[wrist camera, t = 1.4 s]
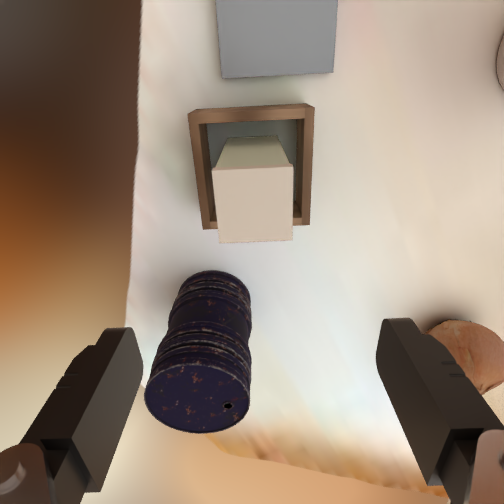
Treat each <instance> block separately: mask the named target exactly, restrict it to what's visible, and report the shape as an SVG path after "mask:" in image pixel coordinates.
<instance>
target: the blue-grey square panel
mask: <svg viewBox="0 0 504 504" xmlns="http://www.w3.org/2000/svg"><path fill="white" fill-rule="evenodd" d="M337 7H338V0H216V12H217V24H218V37H219V49H220V61H221V73H222V78H241V77H260V76H278V75H297V74H315V73H332V72H333V68H334V53H335V37H336V22H337Z"/></svg>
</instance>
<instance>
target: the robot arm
mask: <svg viewBox="0 0 504 504" xmlns="http://www.w3.org/2000/svg"><path fill="white" fill-rule="evenodd" d="M497 75H498V79H499V83H500V84H501V86H502V88H503V90H504V36H503V39H502V41H501V44H500V47H499V51H498V56H497ZM376 365H377V369H378V373H379V375H380V378H381V380H382V382H383V384H384V387H385V389H386V391H387V394H388V396H389V398H390V401H391V403H392V405H393V408H394V410H395V412H396V415H397V417H398V419H399V421H400V424H401V426H402V428H403V431H404V433H405V435H406V438H407V440H408V442H409V445H410V447H411V449H412V451H413V454H414V456H415V458H416V461H417V463H418V465H419V468H420V470H421V472H422V475H423V477H424V479H425V481H426V484H427V486H434V485H443V486H444V488H445V490H446V492H447V494H448V497H449V500H448V502H447V504H504V426H503V424H502V423H501V422H500V420H499V419H498V417H497V416H496V415H495V413H494V412H493V411H492V409H491V408H490V407H489V405H488V404H487V402H486V401H485V400H484V398H483V397H482V396H481V394H480V393H479V391H478V390H477V389H476V387H475V386H474V385H473V383H472V382H471V380H470V379H469V378H468V377H466V375H465V372H464V371H463V369H462V368H461V367H460V365H459V364H457V363H456V360H455V358H454V357H453V356H452V354H451V353H450V352H449V350H448V349H447V347H446V346H444V345H443V344H442V343H441V342H439V341H438V340H437V339H435V338H434V337H433V336H431V335H430V334H421V332H420V331H419V329H418V328H417V326H416V325H415V323H414V322H413V320H412V319H410V318H392V319H384V320H383V321H382V325H381V330H380V335H379V340H378V346H377V351H376ZM142 376H143V361H142V357H141V354H140V350H139V347H138V343H137V340H136V337H135V333H134V331H133V329H132V328H131V327H125V328H107V329H105V330H104V331H103V333H102V334H101V336H100V338H99V339H98V341H97V343H96V345H88V346H87V347H86V348H85V349H84V350H83V351H82V352H81V353H79V355H77V356H76V357H75V358H74V359H73V360H72V362H71V364H70V365H69V367H68V368H67V370H66V372H65V374H64V376H62V378H61V379H60V381H59V382H58V384H57V386H56V389H54V390H53V392H52V393H51V395H50V397H49V398H48V400H47V401H46V403H45V404H44V406H43V407H42V409H41V410H40V412H39V414H38V415H37V417H36V418H35V420H34V421H33V423H32V425H31V426H30V428H29V429H28V431H27V432H26V434H25V435H24V437H23V439H22V440H21V441H20V443H19V444H18V445H15V446H12V447H10V448H8V449H6V450H4V451H2V452H0V504H80V502H81V500H82V498H83V495H84V493H85V492H86V493H87V492H100V491H101V489H102V486H103V483H104V481H105V478H106V475H107V473H108V470H109V467H110V464H111V462H112V459H113V456H114V454H115V451H116V448H117V445H118V443H119V440H120V437H121V434H122V431H123V429H124V426H125V424H126V421H127V418H128V415H129V413H130V410H131V407H132V404H133V402H134V399H135V396H136V394H137V391H138V388H139V385H140V383H141V380H142Z"/></svg>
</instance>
